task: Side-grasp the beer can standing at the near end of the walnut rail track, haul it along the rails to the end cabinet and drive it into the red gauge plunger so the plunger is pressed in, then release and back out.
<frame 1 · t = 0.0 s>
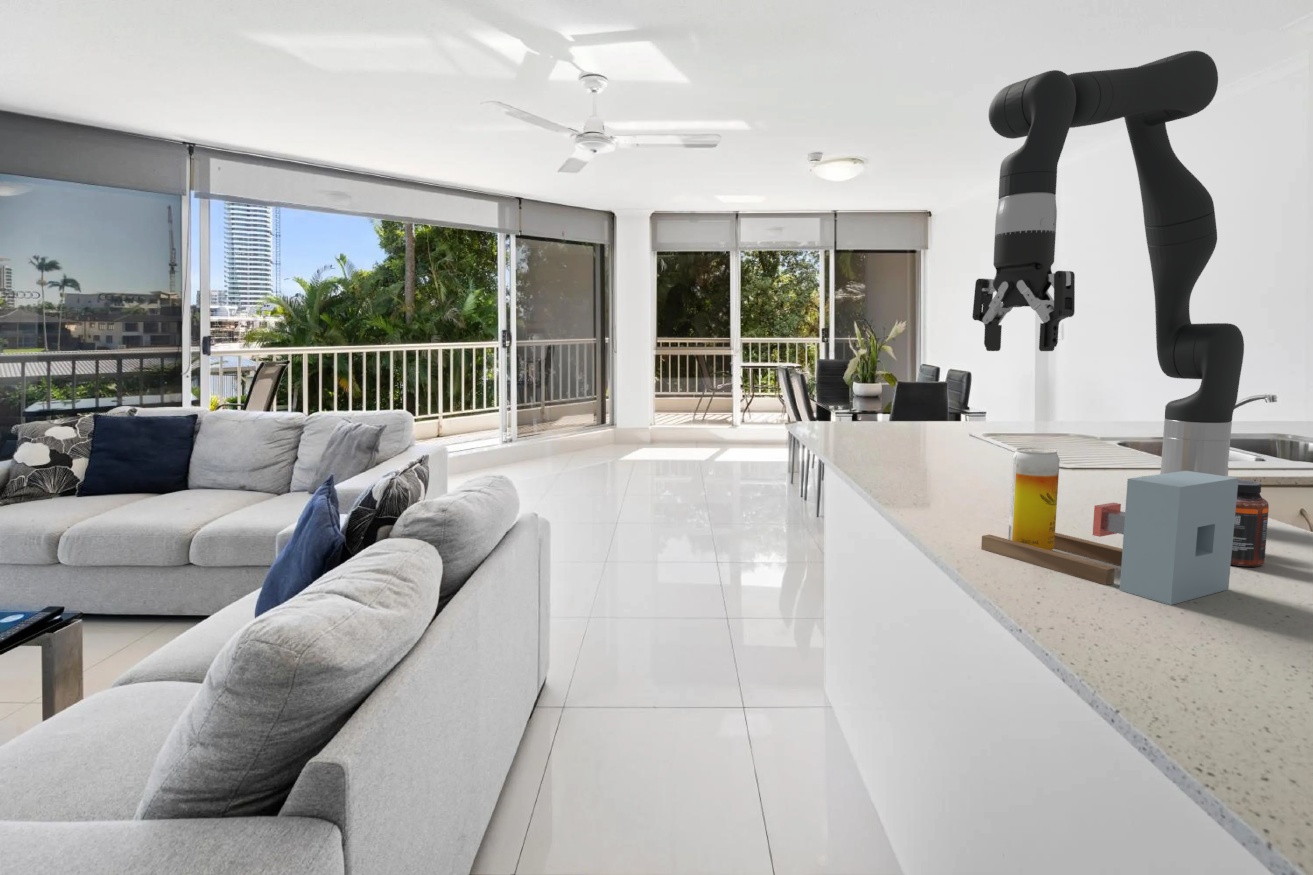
hand: (1018, 351, 105), 29 cm above the countertop, tool pointing down, fingers open, 8 cm apart
end cabinet: (1173, 589, 93), on the countertop
gauge plunger: (1141, 526, 96), point 7 cm above the countertop, slide at 0.0 cm
rail track: (1065, 559, 106), on the countertop
supplement bottle: (1236, 563, 104), on the countertop
beer can: (1030, 551, 111), on the countertop
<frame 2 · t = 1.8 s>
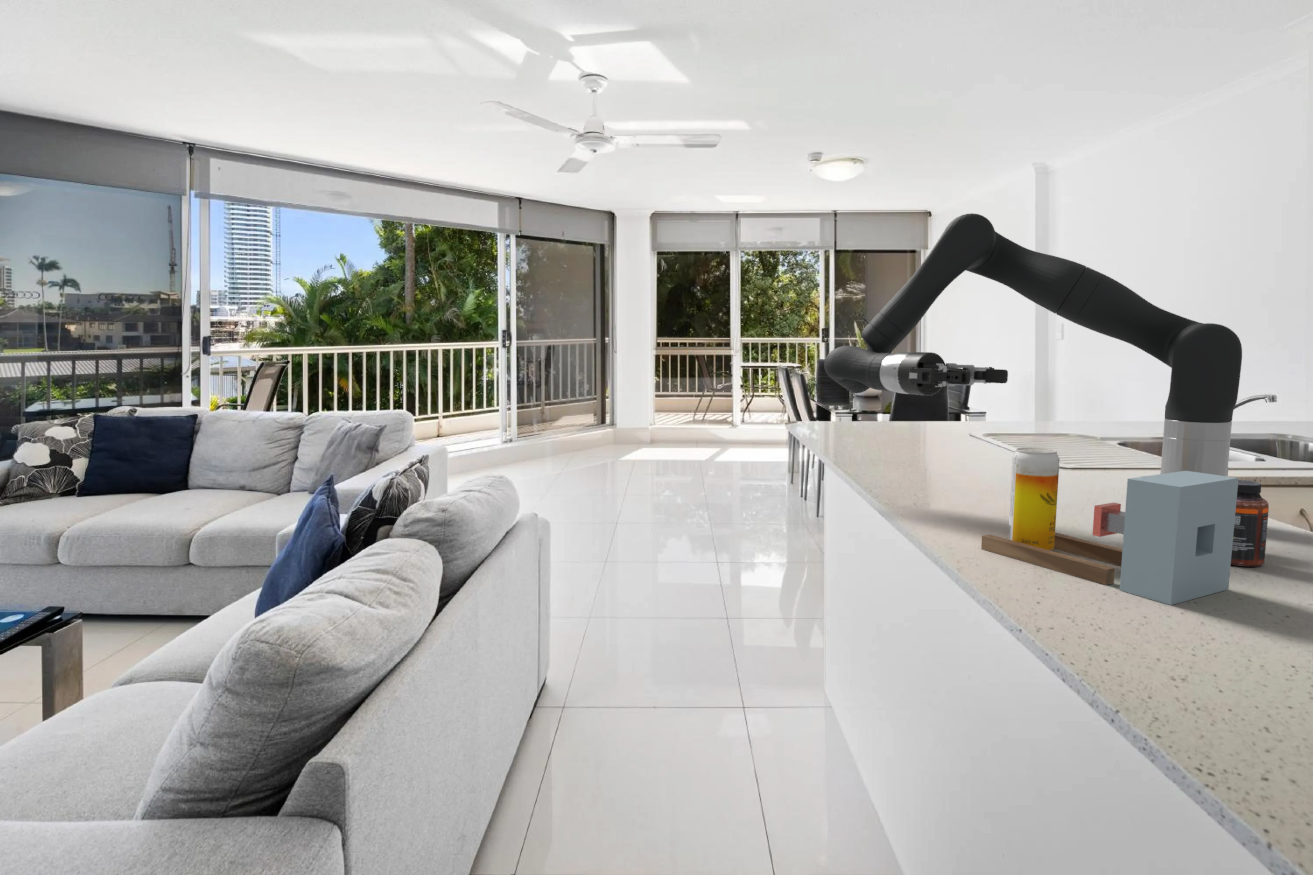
hand: (987, 377, 120), 25 cm above the countertop, tool horizontal, fingers open, 8 cm apart
nothing on the countertop moved.
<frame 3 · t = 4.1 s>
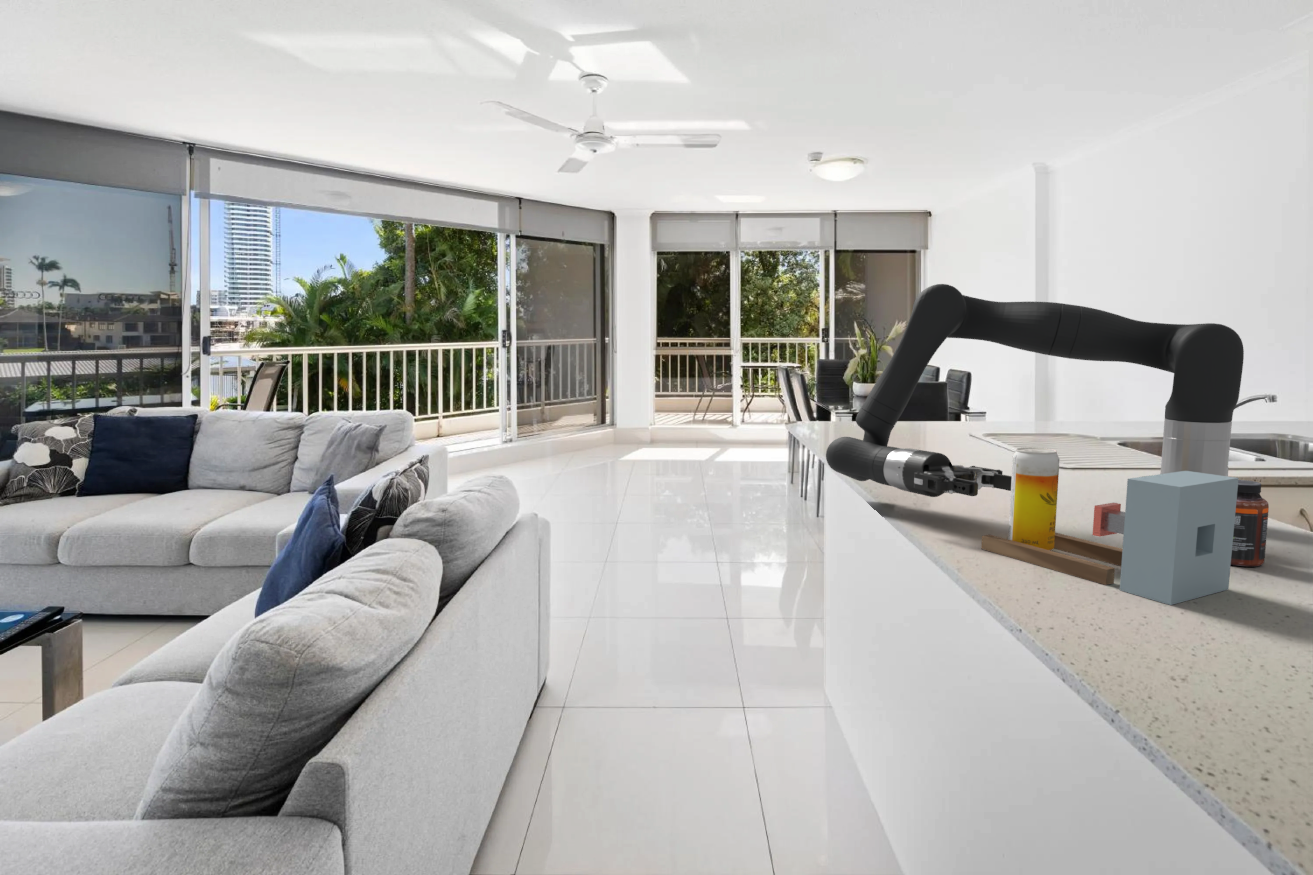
hand: (996, 486, 115), 8 cm above the countertop, tool horizontal, fingers open, 8 cm apart
nothing on the countertop moved.
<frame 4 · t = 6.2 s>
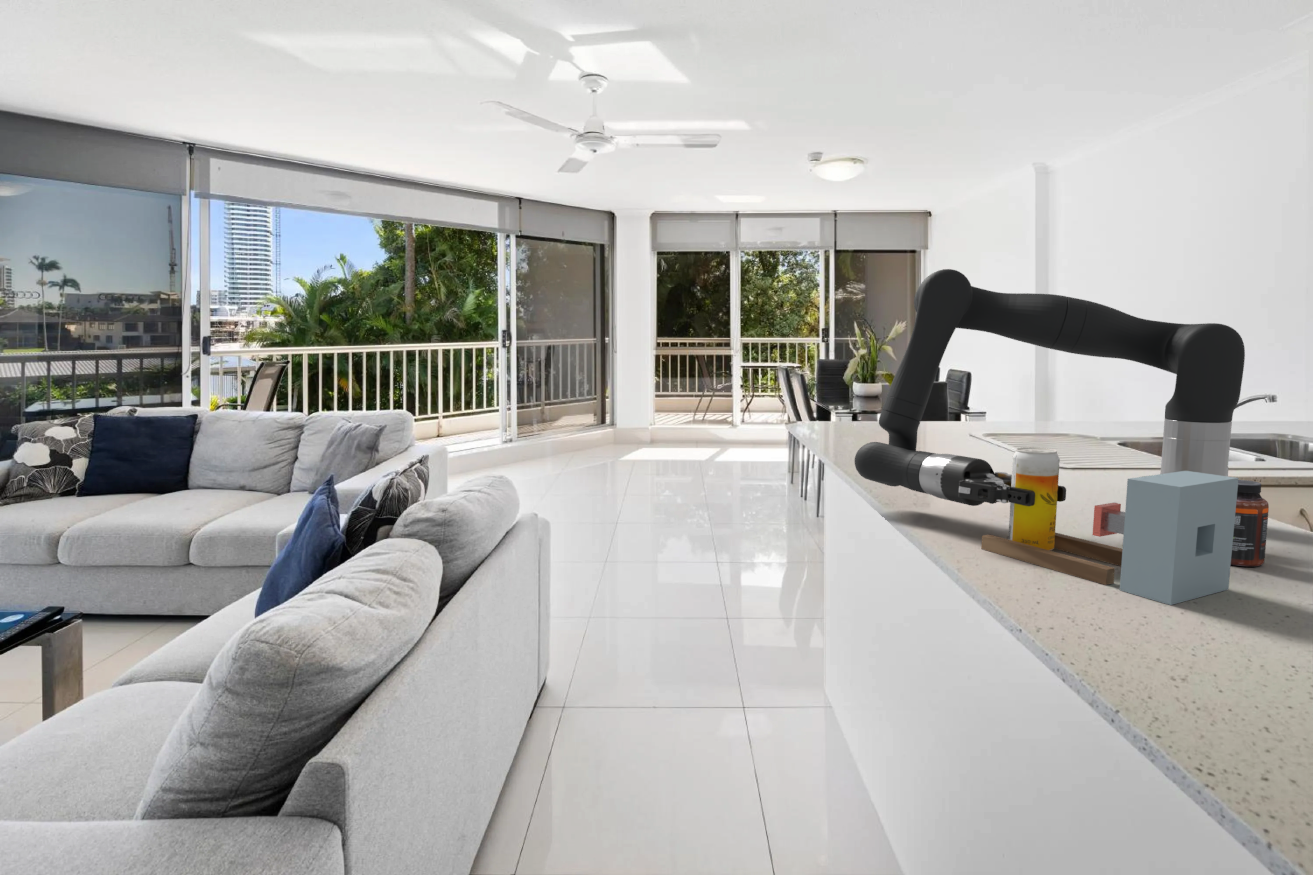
hand: (1048, 496, 108), 9 cm above the countertop, tool horizontal, fingers closed on beer can, 6 cm apart
beer can: (1030, 551, 111), on the countertop, touching gripper
everything else where it was.
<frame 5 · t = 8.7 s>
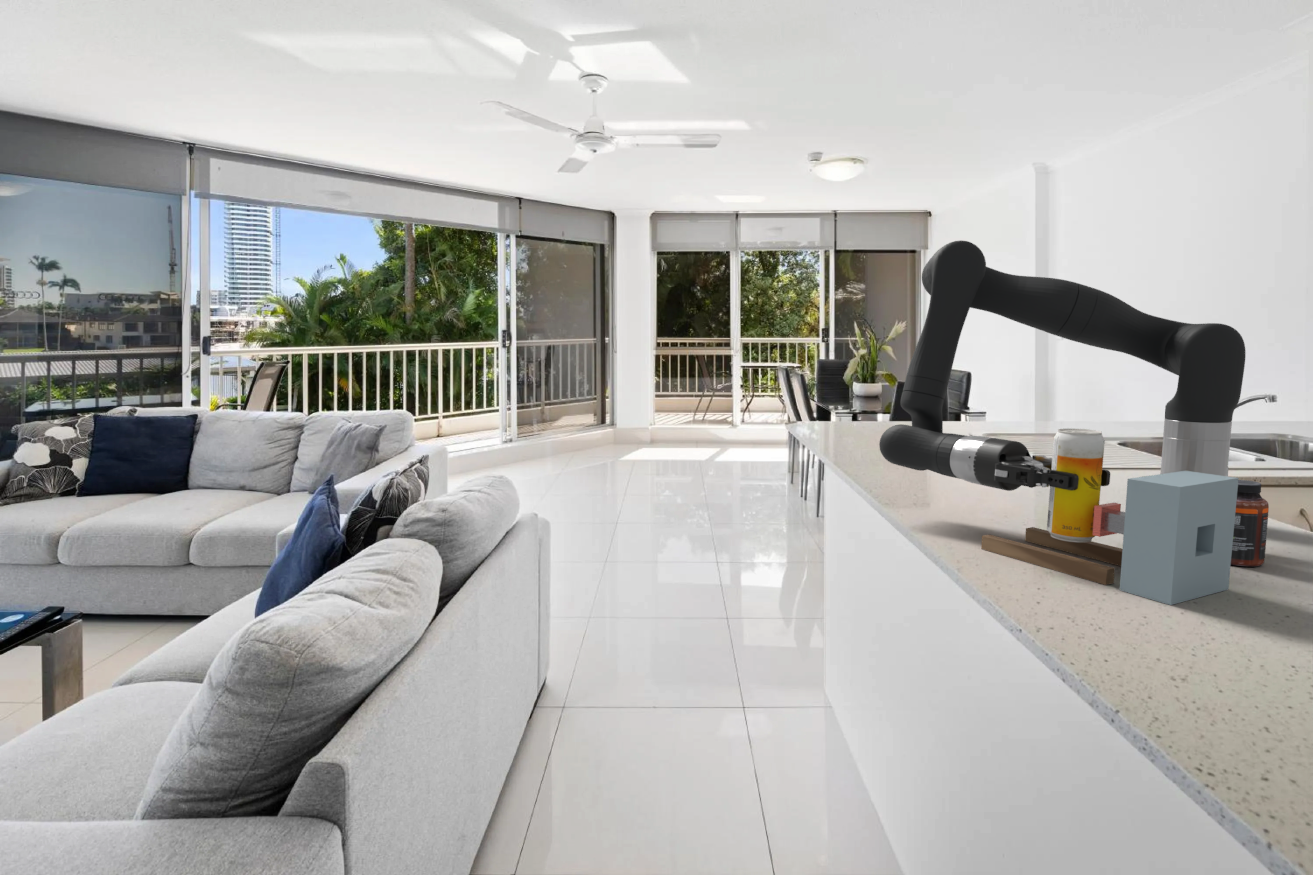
hand: (1092, 480, 101), 12 cm above the countertop, tool horizontal, fingers closed on beer can, 6 cm apart
beer can: (1070, 538, 105), point 3 cm above the countertop, touching gripper
everything else where it was.
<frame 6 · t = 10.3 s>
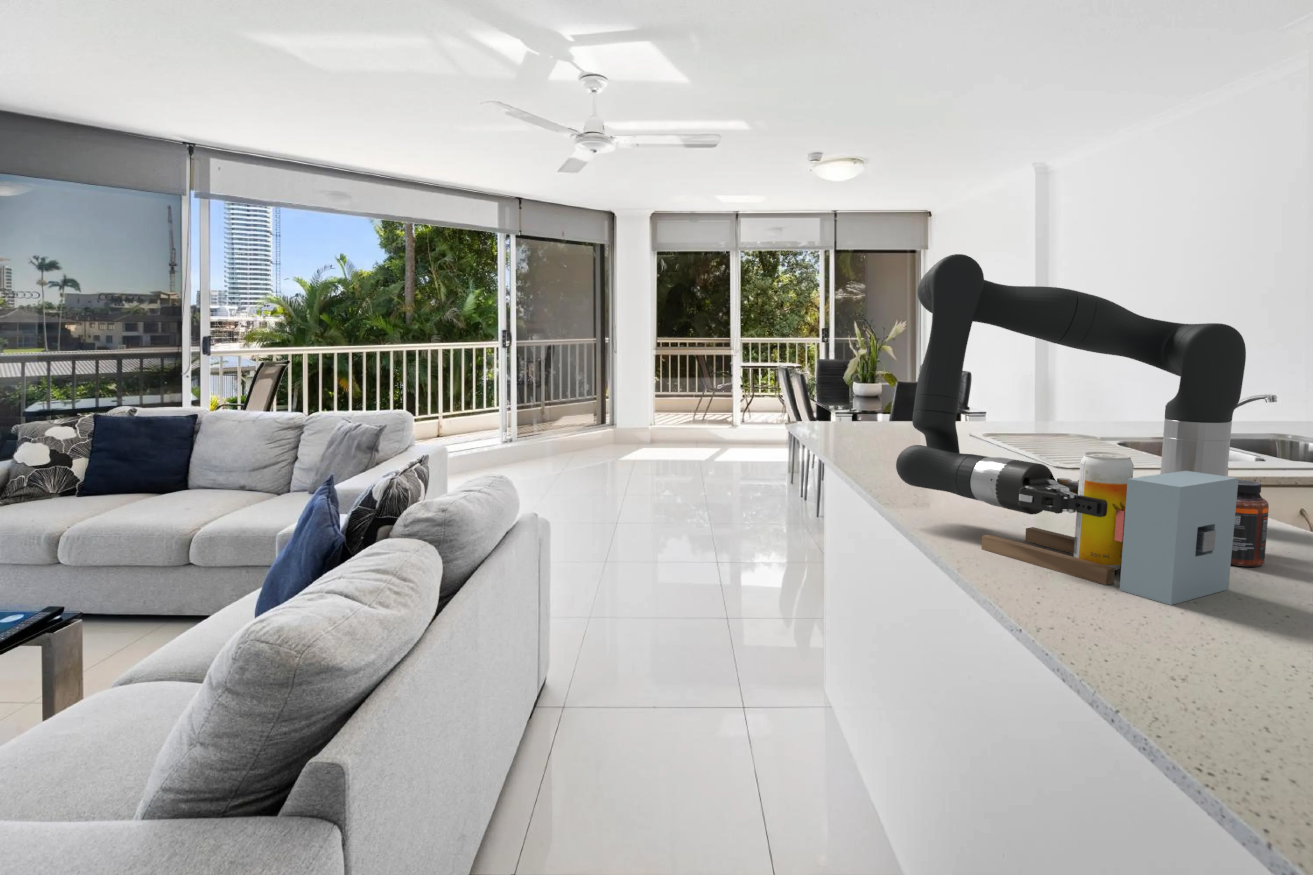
hand: (1121, 506, 98), 9 cm above the countertop, tool horizontal, fingers closed on beer can, 6 cm apart
gauge plunger: (1165, 531, 93), point 7 cm above the countertop, slide at 3.0 cm, touching beer can
beer can: (1098, 565, 101), on the countertop, touching gauge plunger, gripper
everything else where it was.
when the fingers open (9 cm above the countertop, at t = 11.3 s): beer can stays where it is, on the countertop.
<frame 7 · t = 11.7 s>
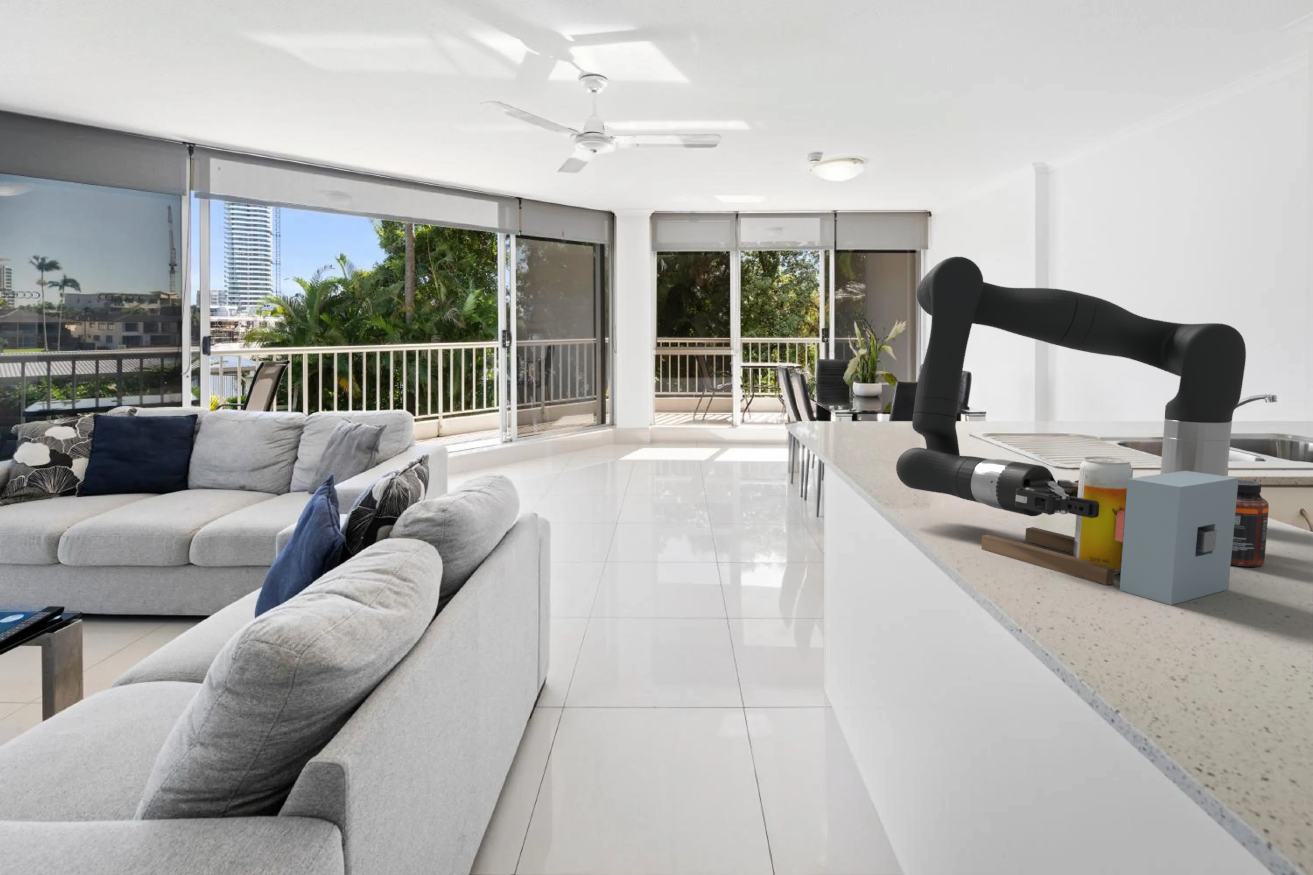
hand: (1118, 506, 99), 9 cm above the countertop, tool horizontal, fingers open, 8 cm apart
gauge plunger: (1165, 531, 93), point 7 cm above the countertop, slide at 3.0 cm
beer can: (1098, 570, 101), on the countertop
everything else where it was.
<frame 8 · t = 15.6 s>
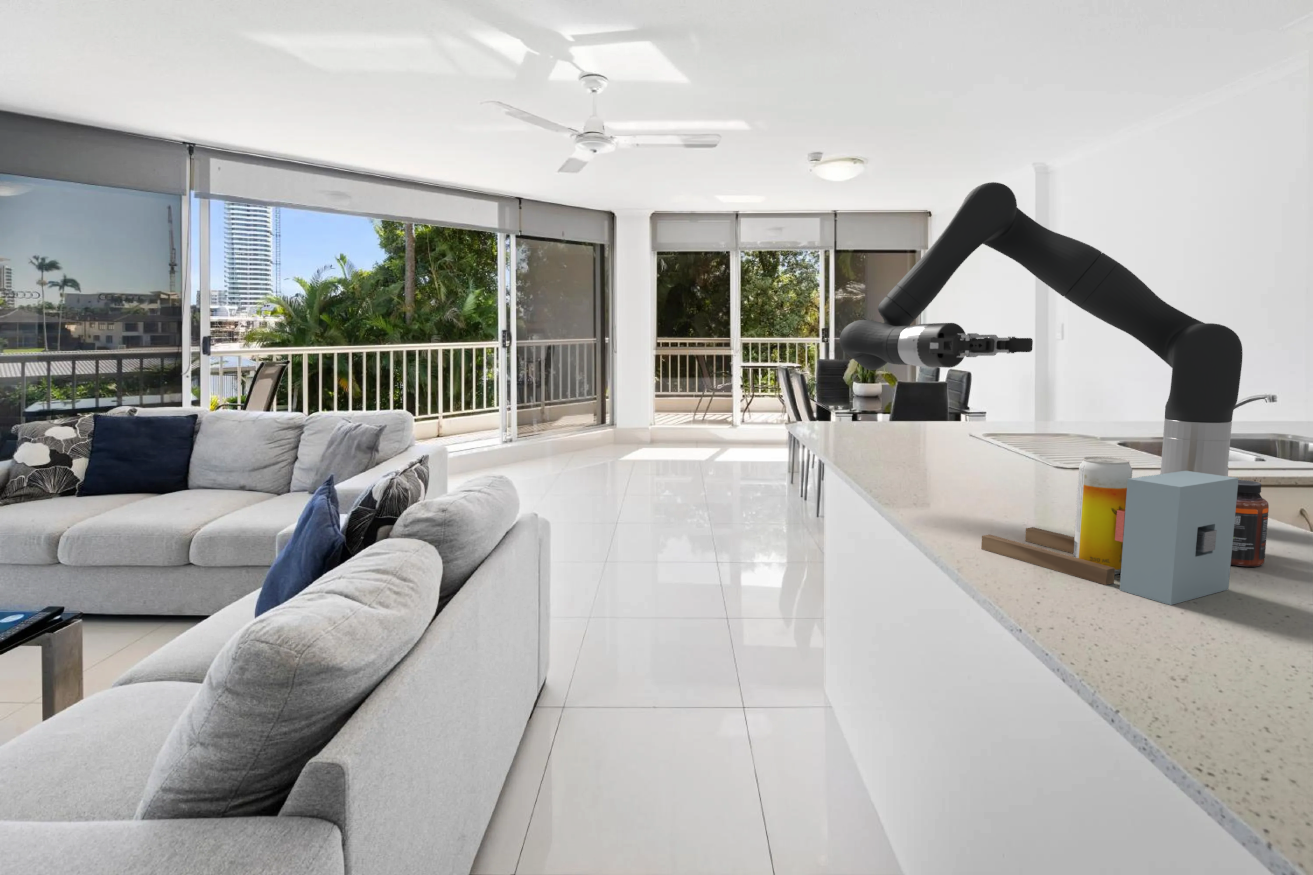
hand: (1012, 345, 116), 30 cm above the countertop, tool horizontal, fingers open, 8 cm apart
nothing on the countertop moved.
at the end: gauge plunger slide at 3.0 cm; beer can inside the target area (0.1 cm from its centre), on the countertop; beer can tilted 0° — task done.
